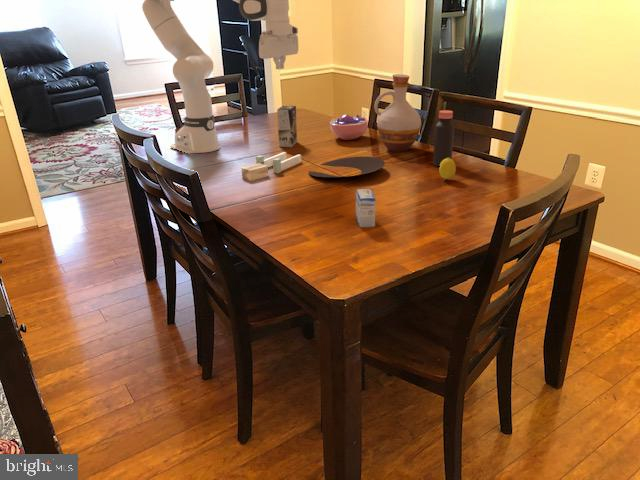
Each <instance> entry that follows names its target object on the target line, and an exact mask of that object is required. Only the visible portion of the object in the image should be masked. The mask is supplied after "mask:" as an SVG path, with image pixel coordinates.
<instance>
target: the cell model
mask: <svg viewBox="0 0 640 480" xmlns="http://www.w3.org/2000/svg"><path fill="white" fill-rule="evenodd" d="M368 119H369V118H367V117H364V116H363V117H362V116H361V115H359V114H356V115H355V116H350V115H349V114H344V115H342V116H339V117H334V118H332V119H331V120H330V121H329V125H330V130H331V131H332V133H333V134H335V136H336V137H337V138H339V139H341V140H343V141H350V140H351V141H352V140H355V139H358V138H360V137H361V136H363V135H364V134H365V133H366V132H367V129H368V125H369V122H368V121H369V120H368Z"/></svg>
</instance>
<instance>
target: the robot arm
mask: <svg viewBox="0 0 640 480" xmlns="http://www.w3.org/2000/svg"><path fill="white" fill-rule="evenodd" d="M172 1H175V0H144V1H143V2H142V6H141V8H142V9H141V10H142V11H143V14H144V16H145V19H146V20H147V23H148V24H149V26H150V28H151V30H152V31H153V32H154V34H155V36H156V37H157V39H158V40H159V42H160V43H161V45H162V46H163V48H164V49H165V50H166V51H168V52H169V53H170V54H171V55H172V56H173V57H174V58H175V60H176V61H175V62H174V64H173V66H172V74H173V77H174V78H175V80H176V81H177V82H178V85H179V87H180V92H181V94H182V97H183V103H184V110H185V117H182V118H181V119H182V120H181V121H182V122H183V123H184V124H183V126H182V127H181V128H180V129H179V130H178V131H177V132H176V133H175V135H174V143H173V144H171V145H170V146H169V148H170V147H171V148H174V149H177V150H179V151H178V152H180V151H182V152H181V153H184V152H185V153H184V154H187V153H188V155H189V154H199V153H200V154H201V153H203V154H204V153H210V152H214V151H217V150H219V149H221V146H220V144H221V143H220V141H219V139H218V138H219V137H218V133H217V129H216V127H215V123H216V120H215V115H214V113H213V104H212V96H211V94H210V92H209V90H208V87H207V84H206V79H208V78H209V77H210V76H211V74H212V72H213V70H214V61H213V60H212V58H211V56H209V55H208V54H207V53H205V51H203V49H202V48H201V47H200V46H199V45H198V44H197V42H196V41H195V40H194V39H193V38H192V36H191V35H190V34H189V33H188V31H187V29H186V28H185V27H184V24H182V21H181V20H180V18H179V17H178V15H177V14H176V12H175V11H174V9H173V7H172V4H171V2H172ZM232 1H233V2H236V3H237V4H238V8H239V9H238V10H239V13H240V14H241V16H242V17H243V18H244V19H245V20H248V21H252V22H254V21H258V22H259V21H264V22H265V30H264V31H262V32H261V34H259V35H260V36H259V40H258V41H259V42H258V56H259V58H260V59H261V60H263V59H264V60H267V59H268V60H269V59H272V60H273V62H274V64H275V69H276V70H283V69H285V62H286V59H287V57H288V56H291V55H297V54H298V53H299V36H298V33H299V28H298V27H297V26H294V25H292V24H291V23H290V18H289V11H290V2H289V0H232ZM171 148H170V149H171ZM174 149H173V150H174ZM177 150H176V151H177Z"/></svg>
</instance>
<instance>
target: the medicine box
mask: <svg viewBox="0 0 640 480" xmlns="http://www.w3.org/2000/svg"><path fill="white" fill-rule="evenodd" d="M376 203H377V202H376V197H375V195H374V194H373V190H372V189H371V188H360V189H356V191H355V218H356V221H357V224H358V226H359V228H375V226H376Z"/></svg>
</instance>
